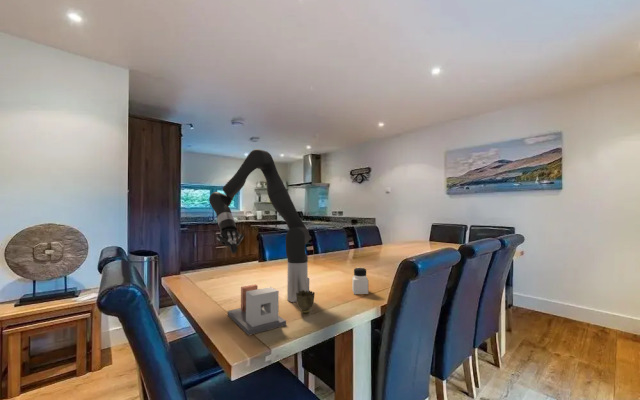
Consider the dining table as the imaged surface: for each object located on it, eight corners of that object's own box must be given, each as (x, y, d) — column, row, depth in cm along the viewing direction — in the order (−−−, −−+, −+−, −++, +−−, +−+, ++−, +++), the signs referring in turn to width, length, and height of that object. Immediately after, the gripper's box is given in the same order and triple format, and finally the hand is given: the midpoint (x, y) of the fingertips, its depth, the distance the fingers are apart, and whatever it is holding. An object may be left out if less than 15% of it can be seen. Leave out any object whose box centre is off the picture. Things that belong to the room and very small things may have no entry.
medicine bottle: (368, 294, 135) (368, 269, 135) (353, 294, 135) (353, 269, 136) (366, 290, 142) (366, 266, 143) (352, 290, 142) (352, 266, 143)
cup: (307, 317, 106) (307, 296, 107) (292, 313, 110) (292, 293, 110) (318, 311, 113) (318, 291, 113) (303, 308, 116) (303, 288, 117)
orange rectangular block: (255, 306, 112) (255, 284, 112) (267, 315, 103) (267, 291, 103) (240, 310, 109) (241, 286, 109) (252, 319, 99) (252, 294, 100)
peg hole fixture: (260, 307, 117) (261, 278, 118) (286, 325, 100) (286, 291, 100) (227, 314, 109) (227, 283, 110) (248, 335, 91) (248, 298, 92)
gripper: (214, 218, 129) (221, 248, 119) (242, 218, 137) (251, 246, 126) (210, 229, 133) (217, 258, 123) (238, 228, 141) (246, 256, 130)
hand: (234, 252), depth 124 cm, fingers closed
